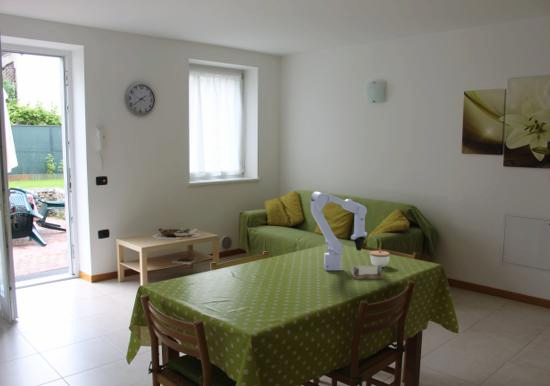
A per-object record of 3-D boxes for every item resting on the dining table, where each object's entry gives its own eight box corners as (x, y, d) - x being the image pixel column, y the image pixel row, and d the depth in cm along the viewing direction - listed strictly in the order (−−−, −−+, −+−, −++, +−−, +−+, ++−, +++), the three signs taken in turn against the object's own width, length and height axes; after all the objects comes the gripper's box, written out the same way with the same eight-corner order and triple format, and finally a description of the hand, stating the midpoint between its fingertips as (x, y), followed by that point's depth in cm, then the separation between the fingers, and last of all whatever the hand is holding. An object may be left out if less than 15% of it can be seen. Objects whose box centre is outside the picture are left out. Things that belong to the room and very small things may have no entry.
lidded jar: (387, 264, 279) (388, 248, 278) (390, 269, 268) (391, 252, 267) (368, 263, 280) (369, 247, 279) (370, 268, 269) (371, 251, 268)
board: (353, 279, 249) (354, 269, 248) (348, 271, 264) (349, 262, 263) (383, 279, 249) (383, 269, 249) (376, 271, 264) (376, 262, 263)
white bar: (380, 273, 254) (381, 265, 253) (381, 274, 252) (382, 266, 252) (353, 273, 253) (353, 265, 253) (354, 274, 251) (354, 266, 251)
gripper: (359, 228, 262) (358, 253, 264) (372, 225, 273) (371, 248, 275) (347, 227, 266) (347, 251, 268) (360, 223, 278) (360, 247, 279)
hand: (358, 250), depth 272 cm, fingers closed
